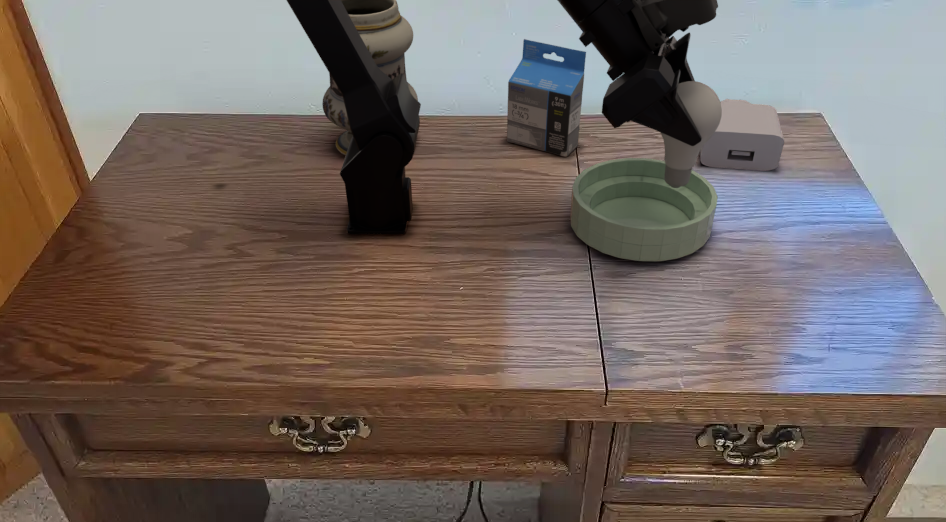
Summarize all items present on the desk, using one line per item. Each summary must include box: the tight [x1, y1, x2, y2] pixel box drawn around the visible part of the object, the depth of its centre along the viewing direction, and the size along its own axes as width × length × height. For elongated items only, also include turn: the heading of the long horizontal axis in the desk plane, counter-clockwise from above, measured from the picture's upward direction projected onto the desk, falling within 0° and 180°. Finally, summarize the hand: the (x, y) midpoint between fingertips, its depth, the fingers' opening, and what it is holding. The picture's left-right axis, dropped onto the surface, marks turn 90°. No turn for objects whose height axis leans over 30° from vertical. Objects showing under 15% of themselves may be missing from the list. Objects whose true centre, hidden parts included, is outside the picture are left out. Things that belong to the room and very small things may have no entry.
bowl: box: [569, 157, 718, 262], centre depth 87 cm, size 15×15×4 cm
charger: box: [699, 98, 785, 172], centre depth 102 cm, size 5×9×15 cm
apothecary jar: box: [322, 0, 419, 156], centre depth 99 cm, size 12×12×18 cm
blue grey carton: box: [506, 38, 587, 158], centre depth 100 cm, size 9×4×12 cm, turn 58°
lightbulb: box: [659, 80, 722, 188], centre depth 79 cm, size 6×6×11 cm
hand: (700, 129), depth 78 cm, fingers closed on lightbulb, 6 cm apart
